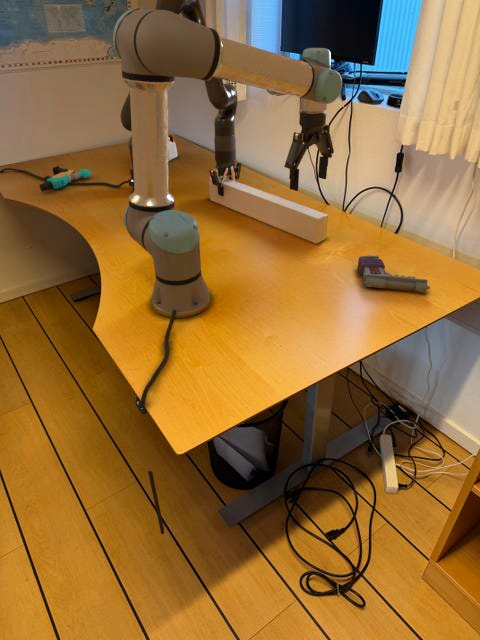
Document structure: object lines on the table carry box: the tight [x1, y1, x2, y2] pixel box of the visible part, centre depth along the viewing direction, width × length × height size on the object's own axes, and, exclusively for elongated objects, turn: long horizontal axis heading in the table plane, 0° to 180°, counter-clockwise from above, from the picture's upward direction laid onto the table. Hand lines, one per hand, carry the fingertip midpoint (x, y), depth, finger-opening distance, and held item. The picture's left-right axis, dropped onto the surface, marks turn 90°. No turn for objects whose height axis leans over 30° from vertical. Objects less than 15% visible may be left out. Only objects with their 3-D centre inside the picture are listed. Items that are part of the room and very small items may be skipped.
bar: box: [208, 176, 329, 245], centre depth 166 cm, size 52×5×8 cm, turn 44°
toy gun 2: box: [356, 254, 431, 293], centre depth 132 cm, size 4×19×15 cm
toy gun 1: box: [39, 165, 92, 193], centre depth 197 cm, size 4×26×15 cm
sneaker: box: [168, 134, 179, 162], centre depth 214 cm, size 10×29×12 cm, turn 163°
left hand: (226, 193), depth 177 cm, fingers closed on bar, 4 cm apart
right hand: (308, 183), depth 147 cm, fingers open, 13 cm apart
